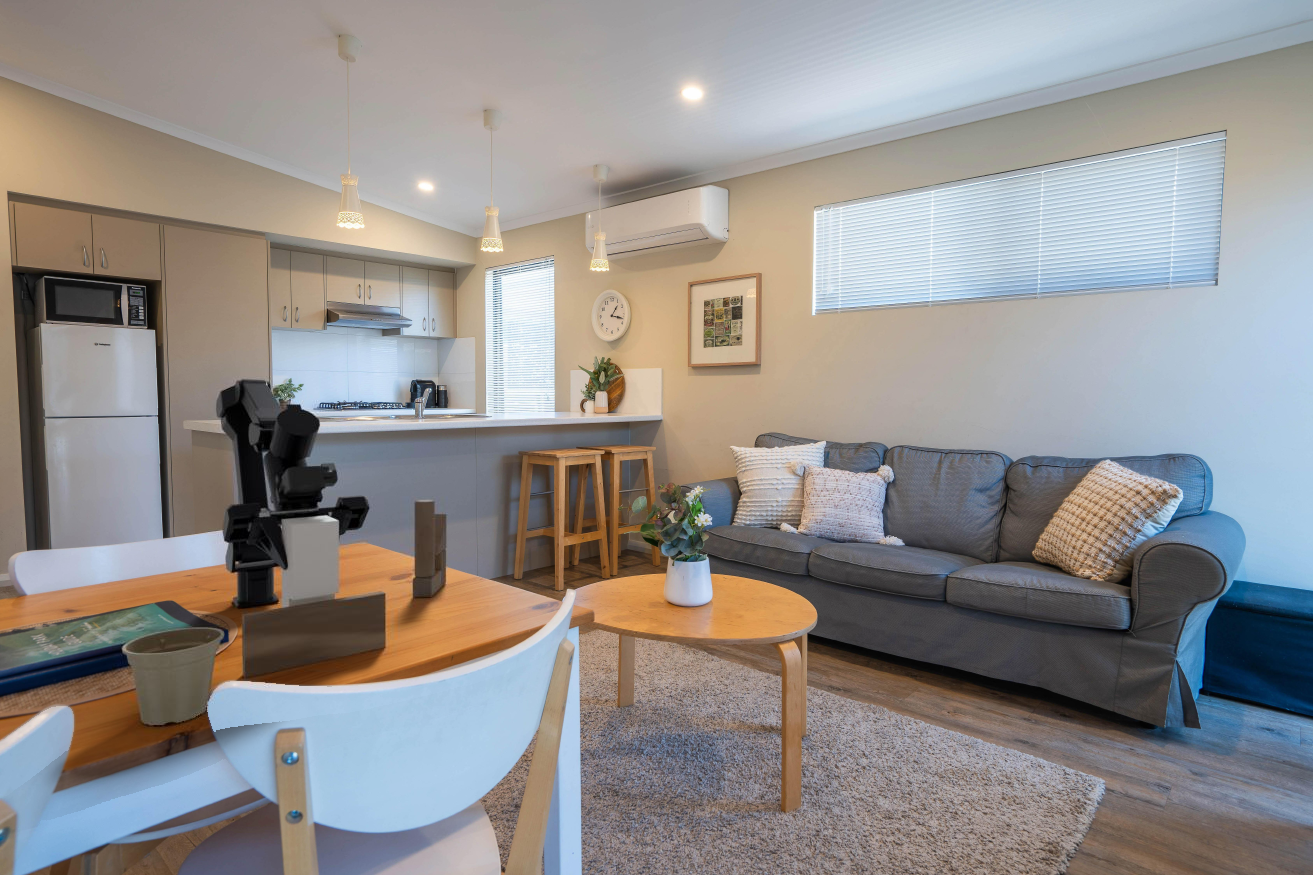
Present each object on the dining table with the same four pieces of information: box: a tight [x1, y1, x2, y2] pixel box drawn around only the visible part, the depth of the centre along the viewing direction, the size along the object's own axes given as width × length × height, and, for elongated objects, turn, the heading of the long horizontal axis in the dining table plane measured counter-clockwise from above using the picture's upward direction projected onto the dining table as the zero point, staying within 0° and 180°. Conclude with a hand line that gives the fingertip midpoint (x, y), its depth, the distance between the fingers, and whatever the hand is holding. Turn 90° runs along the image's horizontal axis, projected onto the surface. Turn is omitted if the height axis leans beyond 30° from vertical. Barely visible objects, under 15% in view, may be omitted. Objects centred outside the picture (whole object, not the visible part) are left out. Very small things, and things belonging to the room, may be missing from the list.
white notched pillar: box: [281, 515, 340, 608], centre depth 97 cm, size 6×6×13 cm
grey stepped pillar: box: [412, 498, 447, 598], centre depth 131 cm, size 4×11×18 cm, turn 3°
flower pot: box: [121, 626, 225, 726], centre depth 77 cm, size 9×9×9 cm
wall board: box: [241, 590, 387, 679], centre depth 94 cm, size 3×18×8 cm, turn 132°
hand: (310, 564), depth 96 cm, fingers closed on white notched pillar, 6 cm apart
